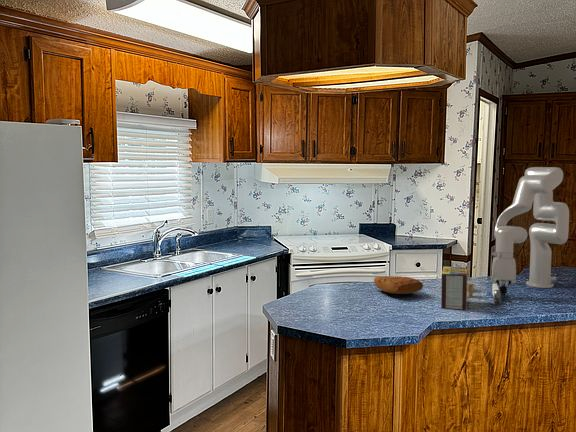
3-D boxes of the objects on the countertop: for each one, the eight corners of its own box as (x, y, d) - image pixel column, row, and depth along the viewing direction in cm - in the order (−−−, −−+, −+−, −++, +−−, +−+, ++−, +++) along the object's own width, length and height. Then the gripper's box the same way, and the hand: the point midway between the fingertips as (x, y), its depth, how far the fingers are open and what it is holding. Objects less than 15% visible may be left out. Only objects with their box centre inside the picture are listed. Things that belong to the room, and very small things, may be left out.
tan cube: (467, 289, 254) (467, 281, 254) (474, 291, 250) (474, 283, 250) (460, 290, 253) (460, 282, 252) (466, 292, 249) (467, 284, 248)
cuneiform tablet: (425, 297, 240) (425, 280, 239) (393, 301, 234) (393, 283, 234) (400, 286, 261) (400, 271, 260) (370, 289, 255) (370, 273, 254)
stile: (468, 295, 243) (468, 282, 242) (472, 296, 240) (473, 284, 239) (463, 295, 242) (464, 283, 241) (468, 297, 239) (468, 284, 238)
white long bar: (498, 302, 230) (499, 290, 230) (494, 301, 231) (494, 290, 230) (496, 294, 243) (496, 283, 243) (492, 294, 244) (492, 283, 243)
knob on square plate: (496, 301, 231) (497, 288, 231) (505, 304, 227) (506, 291, 226) (488, 303, 229) (488, 289, 229) (497, 305, 225) (497, 292, 224)
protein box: (466, 301, 233) (467, 267, 231) (466, 310, 218) (467, 274, 217) (442, 299, 236) (443, 266, 235) (440, 308, 222) (441, 273, 220)
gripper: (487, 256, 235) (486, 295, 237) (523, 257, 230) (521, 297, 233) (486, 253, 242) (485, 291, 244) (520, 254, 238) (519, 293, 240)
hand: (502, 294), depth 238 cm, fingers closed
